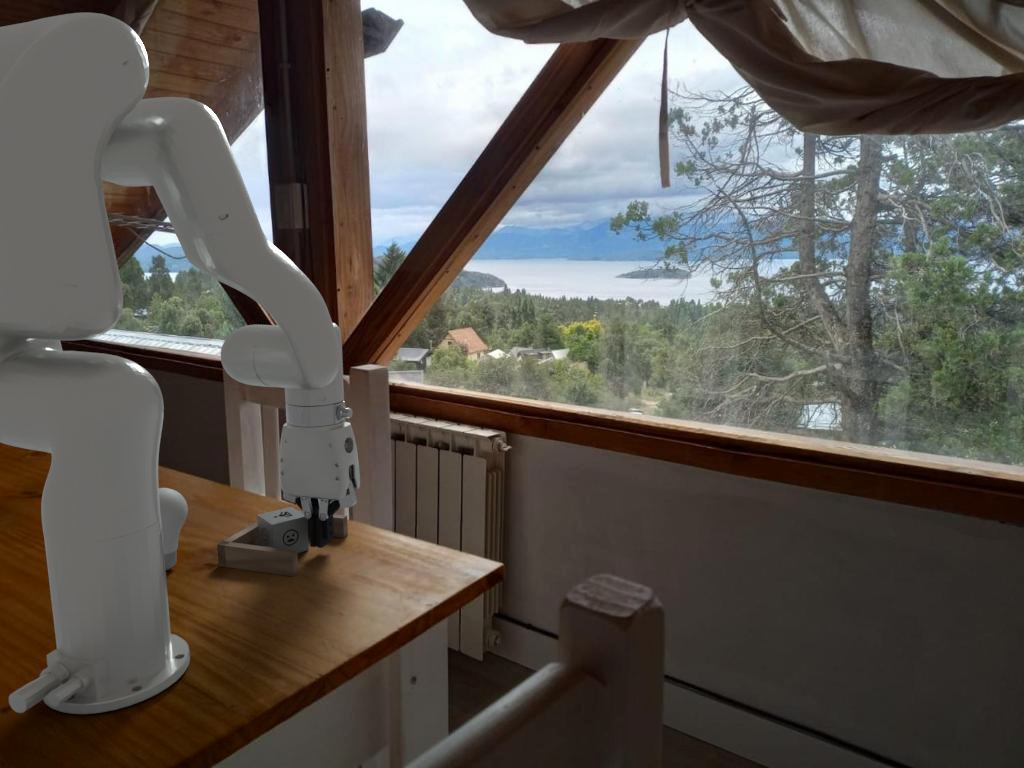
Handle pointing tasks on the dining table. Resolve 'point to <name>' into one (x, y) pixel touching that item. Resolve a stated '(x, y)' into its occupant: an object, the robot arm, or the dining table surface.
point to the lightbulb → (171, 522)
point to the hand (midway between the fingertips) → (321, 543)
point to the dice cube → (283, 530)
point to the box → (265, 551)
